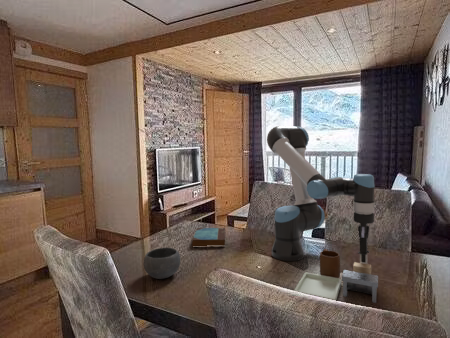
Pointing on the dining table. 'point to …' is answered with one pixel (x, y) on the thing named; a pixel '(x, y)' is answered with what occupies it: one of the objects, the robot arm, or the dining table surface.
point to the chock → (362, 268)
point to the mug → (330, 263)
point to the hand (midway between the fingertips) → (363, 268)
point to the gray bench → (360, 283)
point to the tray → (319, 285)
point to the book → (209, 236)
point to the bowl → (162, 262)
